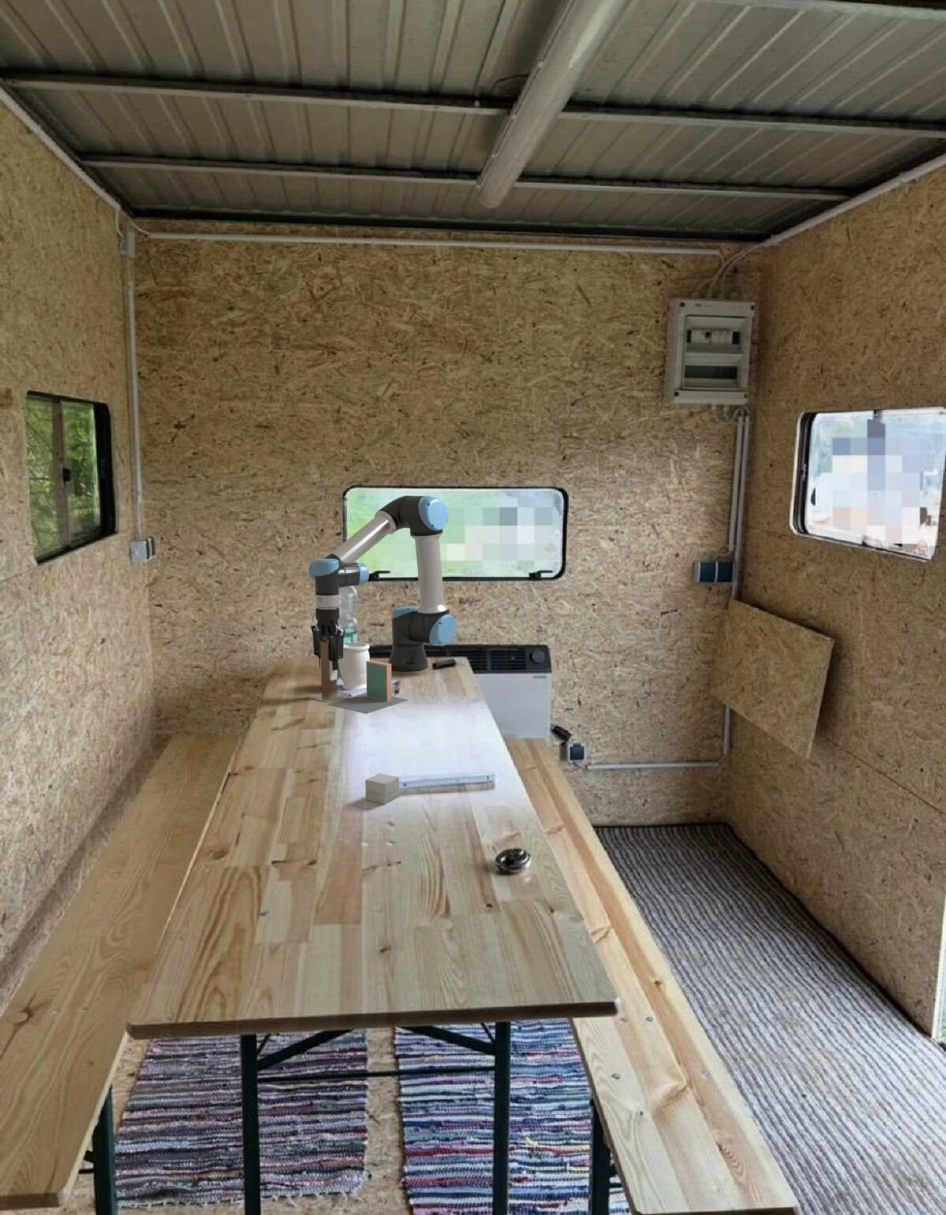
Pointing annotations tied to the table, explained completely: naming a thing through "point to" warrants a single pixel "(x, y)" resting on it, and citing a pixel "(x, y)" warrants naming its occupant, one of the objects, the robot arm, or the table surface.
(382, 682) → the terracotta tile
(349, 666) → the jar
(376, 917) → the table surface
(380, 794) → the small box
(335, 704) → the slate rubber mat
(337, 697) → the tall wooden post
